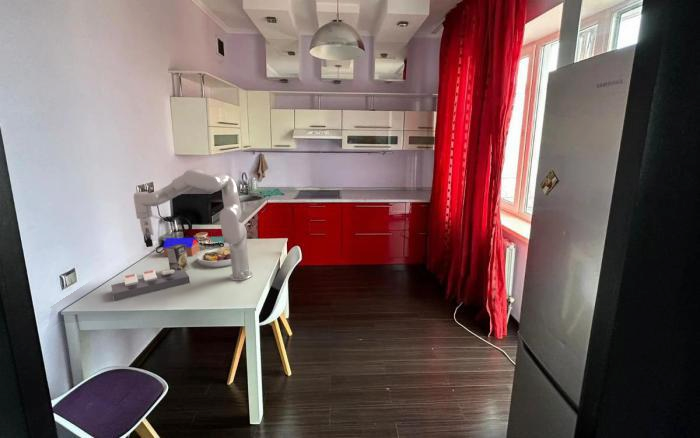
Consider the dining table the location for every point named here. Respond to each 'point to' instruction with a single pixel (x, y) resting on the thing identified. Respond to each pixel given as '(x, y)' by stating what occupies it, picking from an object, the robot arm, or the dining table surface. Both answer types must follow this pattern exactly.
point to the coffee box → (177, 257)
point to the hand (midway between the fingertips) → (148, 244)
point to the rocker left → (130, 280)
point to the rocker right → (167, 272)
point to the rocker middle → (149, 275)
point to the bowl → (215, 257)
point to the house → (190, 243)
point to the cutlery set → (217, 240)
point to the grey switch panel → (150, 285)
